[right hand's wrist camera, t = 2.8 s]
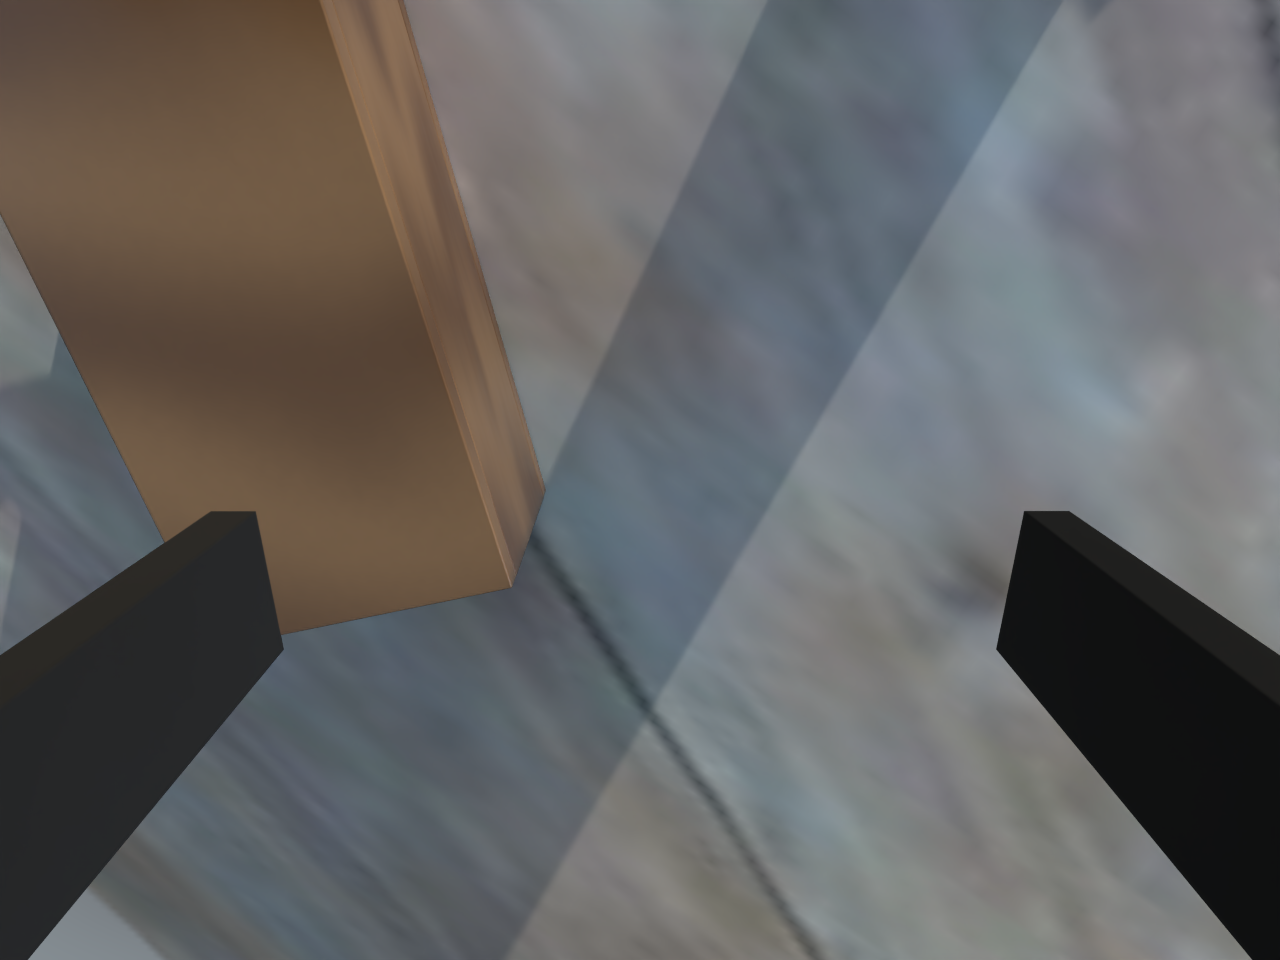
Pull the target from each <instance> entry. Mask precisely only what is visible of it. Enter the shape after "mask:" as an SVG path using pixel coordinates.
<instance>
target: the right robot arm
mask: <svg viewBox="0 0 1280 960" xmlns="http://www.w3.org/2000/svg"><path fill="white" fill-rule="evenodd" d="M283 650H284V648H283V643H282V638H281V633H280V628H279V623H278V619H277V614H276V609H275V604H274V599H273V594H272V589H271V584H270V579H269V574H268V569H267V564H266V559H265V554H264V549H263V544H262V540H261V535H260V530H259V525H258V520H257V515H256V511H210V512H209V513H207V514H206V515H205V516H203V517H202V518H200V519H199V520H197V521H196V522H194V523H193V524H191V525H190V526H189V527H187V528H186V529H184V530H183V531H181V532H180V533H178V534H177V535H175V536H174V537H172V538H171V539H170V540H168V541H167V542H165V543H164V544H162V545H161V546H159V547H158V548H156V549H155V550H153V551H152V552H151V553H149V554H148V555H146V556H145V557H143V558H142V559H140V560H139V561H137V562H136V563H134V564H133V565H132V566H130V567H129V568H127V569H126V570H124V571H123V572H121V573H120V574H118V575H117V576H115V577H114V578H113V579H111V580H110V581H108V582H107V583H105V584H104V585H102V586H101V587H99V588H98V589H97V590H95V591H94V592H92V593H91V594H89V595H88V596H86V597H85V598H83V599H82V600H80V601H79V602H78V603H76V604H75V605H73V606H72V607H70V608H69V609H67V610H66V611H64V612H63V613H61V614H60V615H59V616H57V617H56V618H54V619H53V620H51V621H50V622H48V623H47V624H45V625H44V626H42V627H41V628H40V629H38V630H37V631H35V632H34V633H32V634H31V635H29V636H28V637H26V638H25V639H23V640H22V641H21V642H19V643H18V644H16V645H15V646H13V647H12V648H10V649H9V650H7V651H6V652H4V653H3V654H2V655H0V960H28V959H29V958H30V956H31V955H32V954H33V953H34V951H35V950H36V949H37V948H38V947H39V945H40V944H41V943H42V942H43V941H44V939H45V938H46V937H47V936H48V935H49V933H50V932H51V931H52V930H53V928H54V927H55V926H56V925H57V924H58V922H59V921H60V920H61V919H62V918H63V916H64V915H65V914H66V913H67V911H68V910H69V909H70V908H71V907H72V905H73V904H74V903H75V902H76V901H77V899H78V898H79V897H80V896H81V895H82V893H83V892H84V891H85V890H86V888H87V887H88V886H89V885H90V884H91V882H92V881H93V880H94V879H95V878H96V876H97V875H98V874H99V873H100V871H101V870H102V869H103V868H104V867H105V865H106V864H107V863H108V862H109V861H110V859H111V858H112V857H113V856H114V854H115V853H116V852H117V851H118V850H119V848H120V847H121V846H122V845H123V844H124V842H125V841H126V840H127V839H128V838H129V836H130V835H131V834H132V833H133V831H134V830H135V829H136V828H137V827H138V825H139V824H140V823H141V822H142V821H143V819H144V818H145V817H146V816H147V814H148V813H149V812H150V811H151V810H152V808H153V807H154V806H155V805H156V804H157V802H158V801H159V800H160V799H161V798H162V796H163V795H164V794H165V793H166V791H167V790H168V789H169V788H170V787H171V785H172V784H173V783H174V782H175V781H176V779H177V778H178V777H179V776H180V774H181V773H182V772H183V771H184V770H185V768H186V767H187V766H188V765H189V764H190V762H191V761H192V760H193V759H194V757H195V756H196V755H197V754H198V753H199V751H200V750H201V749H202V748H203V747H204V745H205V744H206V743H207V742H208V741H209V739H210V738H211V737H212V736H213V734H214V733H215V732H216V731H217V730H218V728H219V727H220V726H221V725H222V724H223V722H224V721H225V720H226V719H227V717H228V716H229V715H230V714H231V713H232V711H233V710H234V709H235V708H236V707H237V705H238V704H239V703H240V702H241V701H242V699H243V698H244V697H245V696H246V694H247V693H248V692H249V691H250V690H251V688H252V687H253V686H254V685H255V684H256V682H257V681H258V680H259V679H260V677H261V676H262V675H263V674H264V673H265V671H266V670H267V669H268V668H269V667H270V665H271V664H272V663H273V662H274V661H275V659H276V658H277V657H278V656H279V654H280V653H281V652H282V651H283ZM996 650H997V651H998V652H999V653H1000V654H1001V656H1002V657H1003V658H1004V659H1005V661H1006V662H1007V663H1008V664H1009V665H1010V667H1011V668H1012V669H1013V670H1014V671H1015V673H1016V674H1017V675H1018V676H1019V677H1020V679H1021V680H1022V681H1023V682H1024V684H1025V685H1026V686H1027V687H1028V688H1029V690H1030V691H1031V692H1032V693H1033V694H1034V696H1035V697H1036V698H1037V699H1038V701H1039V702H1040V703H1041V704H1042V705H1043V707H1044V708H1045V709H1046V710H1047V711H1048V713H1049V714H1050V715H1051V716H1052V717H1053V719H1054V720H1055V721H1056V722H1057V724H1058V725H1059V726H1060V727H1061V728H1062V730H1063V731H1064V732H1065V733H1066V734H1067V736H1068V737H1069V738H1070V739H1071V741H1072V742H1073V743H1074V744H1075V745H1076V747H1077V748H1078V749H1079V750H1080V751H1081V753H1082V754H1083V755H1084V756H1085V758H1086V759H1087V760H1088V761H1089V762H1090V764H1091V765H1092V766H1093V767H1094V768H1095V770H1096V771H1097V772H1098V773H1099V774H1100V776H1101V777H1102V778H1103V779H1104V781H1105V782H1106V783H1107V784H1108V785H1109V787H1110V788H1111V789H1112V790H1113V791H1114V793H1115V794H1116V795H1117V796H1118V798H1119V799H1120V800H1121V801H1122V802H1123V804H1124V805H1125V806H1126V807H1127V808H1128V810H1129V811H1130V812H1131V813H1132V814H1133V816H1134V817H1135V818H1136V819H1137V821H1138V822H1139V823H1140V824H1141V825H1142V827H1143V828H1144V829H1145V830H1146V831H1147V833H1148V834H1149V835H1150V836H1151V838H1152V839H1153V840H1154V841H1155V842H1156V844H1157V845H1158V846H1159V847H1160V848H1161V850H1162V851H1163V852H1164V853H1165V854H1166V856H1167V857H1168V858H1169V859H1170V861H1171V862H1172V863H1173V864H1174V865H1175V867H1176V868H1177V869H1178V870H1179V871H1180V873H1181V874H1182V875H1183V876H1184V878H1185V879H1186V880H1187V881H1188V882H1189V884H1190V885H1191V886H1192V887H1193V888H1194V890H1195V891H1196V892H1197V893H1198V895H1199V896H1200V897H1201V898H1202V899H1203V901H1204V902H1205V903H1206V904H1207V905H1208V907H1209V908H1210V909H1211V910H1212V911H1213V913H1214V914H1215V915H1216V916H1217V918H1218V919H1219V920H1220V921H1221V922H1222V924H1223V925H1224V926H1225V927H1226V928H1227V930H1228V931H1229V932H1230V933H1231V935H1232V936H1233V937H1234V938H1235V939H1236V941H1237V942H1238V943H1239V944H1240V945H1241V947H1242V948H1243V949H1244V950H1245V951H1246V953H1247V954H1248V955H1249V956H1250V958H1251V959H1252V960H1280V655H1278V654H1277V653H1276V652H1274V651H1273V650H1271V649H1270V648H1268V647H1267V646H1265V645H1264V644H1262V643H1261V642H1259V641H1258V640H1257V639H1255V638H1254V637H1252V636H1251V635H1249V634H1248V633H1246V632H1245V631H1243V630H1242V629H1240V628H1239V627H1238V626H1236V625H1235V624H1233V623H1232V622H1230V621H1229V620H1227V619H1226V618H1224V617H1223V616H1221V615H1220V614H1219V613H1217V612H1216V611H1214V610H1213V609H1211V608H1210V607H1208V606H1207V605H1205V604H1204V603H1202V602H1201V601H1200V600H1198V599H1197V598H1195V597H1194V596H1192V595H1191V594H1189V593H1188V592H1186V591H1185V590H1183V589H1182V588H1181V587H1179V586H1178V585H1176V584H1175V583H1173V582H1172V581H1170V580H1169V579H1167V578H1166V577H1165V576H1163V575H1162V574H1160V573H1159V572H1157V571H1156V570H1154V569H1153V568H1151V567H1150V566H1148V565H1147V564H1146V563H1144V562H1143V561H1141V560H1140V559H1138V558H1137V557H1135V556H1134V555H1132V554H1131V553H1129V552H1128V551H1127V550H1125V549H1124V548H1122V547H1121V546H1119V545H1118V544H1116V543H1115V542H1113V541H1112V540H1110V539H1109V538H1108V537H1106V536H1105V535H1103V534H1102V533H1100V532H1099V531H1097V530H1096V529H1094V528H1093V527H1091V526H1090V525H1089V524H1087V523H1086V522H1084V521H1083V520H1081V519H1080V518H1078V517H1077V516H1075V515H1074V514H1072V513H1071V512H1070V511H1024V515H1023V520H1022V525H1021V530H1020V535H1019V540H1018V544H1017V549H1016V554H1015V559H1014V564H1013V569H1012V574H1011V579H1010V584H1009V589H1008V594H1007V599H1006V604H1005V609H1004V614H1003V619H1002V623H1001V628H1000V633H999V638H998V643H997V648H996Z"/></svg>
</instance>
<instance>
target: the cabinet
mask: <svg viewBox="0 0 1280 960" xmlns="http://www.w3.org/2000/svg"><path fill="white" fill-rule="evenodd" d="M0 215H1V217H2V219H3V221H4V223H5V225H6V227H7V229H8V231H9V233H10V235H11V237H12V239H13V241H14V243H15V245H16V247H17V249H18V251H19V253H20V255H21V257H22V259H23V261H24V263H25V265H26V267H27V269H28V271H29V273H30V275H31V277H32V279H33V281H34V283H35V285H36V287H37V289H38V291H39V293H40V295H41V297H42V299H43V301H44V303H45V305H46V307H47V309H48V311H49V313H50V315H51V317H52V319H53V321H54V323H55V325H56V327H57V329H58V331H59V333H60V335H61V337H62V339H63V341H64V343H65V345H66V347H67V349H68V351H69V353H70V355H71V357H72V359H73V361H74V363H75V365H76V367H77V369H78V371H79V373H80V375H81V377H82V379H83V381H84V383H85V385H86V387H87V389H88V391H89V393H90V395H91V397H92V399H93V401H94V403H95V405H96V407H97V409H98V411H99V413H100V415H101V417H102V419H103V421H104V423H105V425H106V427H107V429H108V431H109V433H110V435H111V437H112V439H113V441H114V443H115V445H116V447H117V449H118V451H119V453H120V455H121V457H122V459H123V461H124V463H125V465H126V467H127V469H128V471H129V473H130V475H131V477H132V479H133V481H134V483H135V485H136V487H137V489H138V491H139V493H140V495H141V497H142V499H143V501H144V503H145V505H146V507H147V509H148V511H149V513H150V515H151V517H152V519H153V521H154V523H155V525H156V527H157V529H158V531H159V533H160V535H161V537H162V539H163V541H164V543H165V542H167V541H168V540H170V539H171V538H172V537H174V536H175V535H177V534H178V533H180V532H181V531H183V530H184V529H186V528H187V527H189V526H190V525H191V524H193V523H194V522H196V521H197V520H199V519H200V518H202V517H203V516H205V515H206V514H207V513H209V512H210V511H256V515H257V520H258V525H259V530H260V535H261V540H262V544H263V549H264V554H265V559H266V564H267V569H268V574H269V579H270V584H271V589H272V594H273V599H274V604H275V609H276V614H277V619H278V623H279V628H280V633H281V635H283V634H288V633H293V632H298V631H303V630H308V629H313V628H318V627H322V626H327V625H332V624H337V623H342V622H347V621H352V620H357V619H362V618H366V617H371V616H376V615H381V614H386V613H391V612H396V611H401V610H406V609H411V608H415V607H420V606H425V605H430V604H435V603H440V602H445V601H450V600H455V599H459V598H464V597H469V596H474V595H479V594H484V593H489V592H494V591H499V590H503V589H508V588H511V587H512V586H513V583H514V580H515V577H516V575H517V573H518V570H519V567H520V564H521V561H522V558H523V556H524V553H525V550H526V547H527V544H528V541H529V538H530V535H531V533H532V530H533V527H534V524H535V521H536V518H537V515H538V513H539V510H540V507H541V504H542V501H543V498H544V494H545V491H546V489H545V486H544V483H543V479H542V476H541V472H540V469H539V465H538V462H537V458H536V455H535V452H534V448H533V445H532V441H531V438H530V434H529V431H528V428H527V424H526V421H525V417H524V414H523V410H522V407H521V403H520V400H519V397H518V393H517V390H516V386H515V383H514V379H513V376H512V373H511V369H510V366H509V362H508V359H507V355H506V352H505V348H504V345H503V342H502V338H501V335H500V331H499V328H498V324H497V321H496V318H495V314H494V311H493V307H492V304H491V300H490V297H489V294H488V290H487V287H486V283H485V280H484V276H483V273H482V269H481V266H480V263H479V259H478V256H477V252H476V249H475V245H474V242H473V239H472V235H471V232H470V228H469V225H468V221H467V218H466V214H465V211H464V208H463V204H462V201H461V197H460V194H459V190H458V187H457V184H456V180H455V177H454V173H453V170H452V166H451V163H450V160H449V156H448V153H447V149H446V146H445V142H444V139H443V135H442V132H441V129H440V125H439V122H438V118H437V115H436V111H435V108H434V105H433V101H432V98H431V94H430V91H429V87H428V84H427V80H426V77H425V74H424V70H423V67H422V63H421V60H420V56H419V53H418V50H417V46H416V43H415V39H414V36H413V32H412V29H411V26H410V22H409V19H408V15H407V12H406V8H405V5H404V1H403V0H0Z"/></svg>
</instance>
